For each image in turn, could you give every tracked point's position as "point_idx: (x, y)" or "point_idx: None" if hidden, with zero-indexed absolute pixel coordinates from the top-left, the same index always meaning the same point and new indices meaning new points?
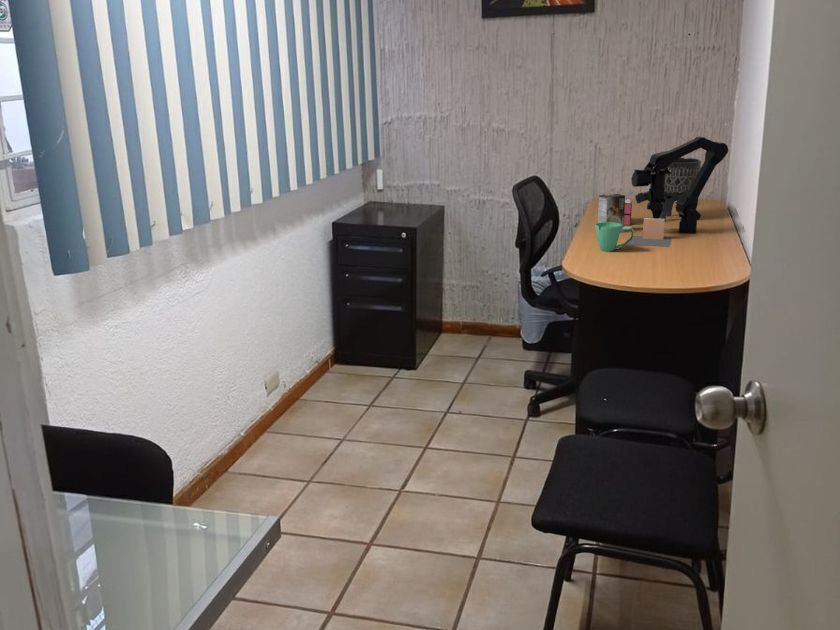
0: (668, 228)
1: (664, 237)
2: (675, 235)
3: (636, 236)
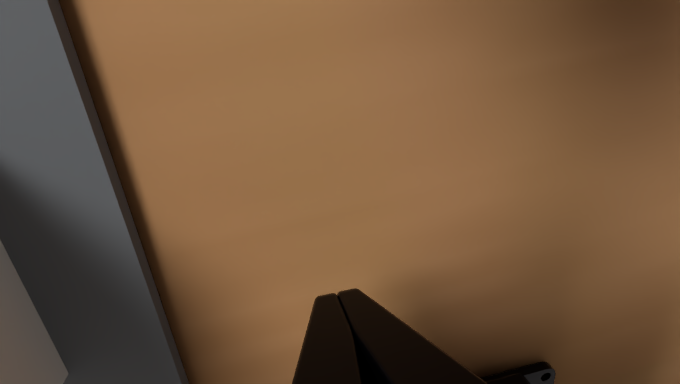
0: (672, 239)
1: (140, 363)
2: None
3: None
